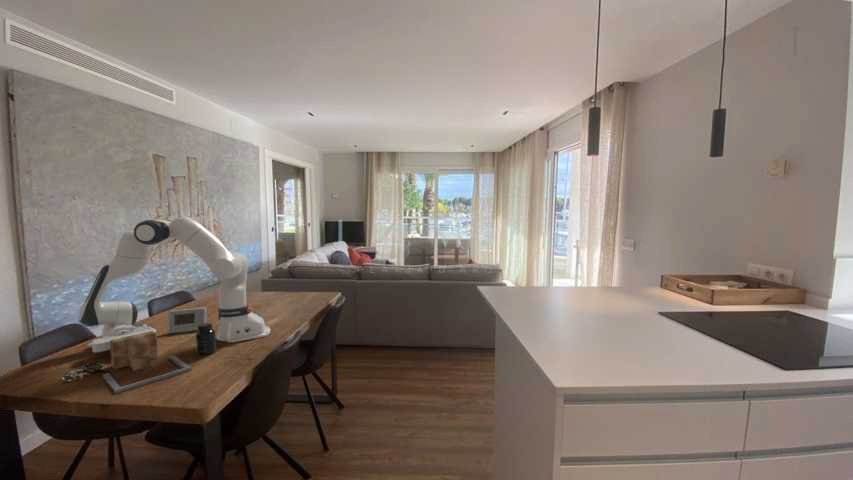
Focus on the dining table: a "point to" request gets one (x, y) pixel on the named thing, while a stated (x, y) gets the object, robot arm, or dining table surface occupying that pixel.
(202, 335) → the supplement bottle
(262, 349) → the dining table surface
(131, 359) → the notched wooden block
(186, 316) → the digital clock
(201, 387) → the dining table surface
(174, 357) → the frame
